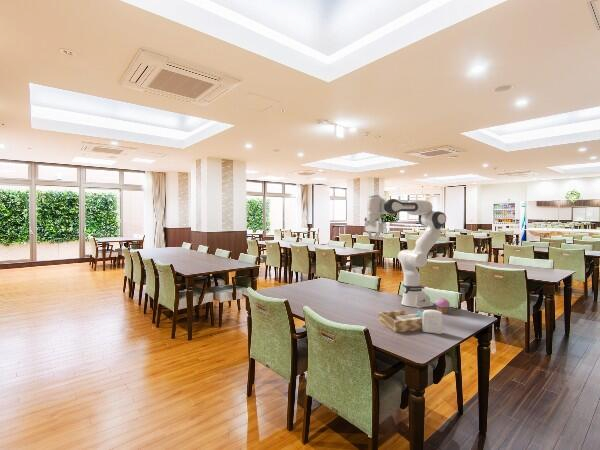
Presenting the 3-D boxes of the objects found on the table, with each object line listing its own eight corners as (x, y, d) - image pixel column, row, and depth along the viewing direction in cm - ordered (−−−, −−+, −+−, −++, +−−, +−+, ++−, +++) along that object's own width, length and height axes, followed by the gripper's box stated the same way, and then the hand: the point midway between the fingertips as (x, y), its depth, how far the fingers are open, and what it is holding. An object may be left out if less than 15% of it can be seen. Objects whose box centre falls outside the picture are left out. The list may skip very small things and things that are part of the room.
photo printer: (442, 332, 174) (442, 309, 174) (443, 334, 170) (443, 311, 170) (422, 329, 177) (422, 308, 177) (422, 332, 173) (422, 310, 173)
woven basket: (404, 319, 195) (404, 309, 195) (423, 329, 178) (423, 318, 178) (378, 322, 190) (378, 312, 190) (395, 332, 173) (395, 321, 173)
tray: (418, 317, 196) (418, 310, 195) (434, 324, 182) (434, 317, 182) (394, 319, 191) (394, 312, 191) (408, 327, 177) (408, 319, 177)
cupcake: (444, 311, 214) (444, 296, 213) (452, 314, 205) (452, 299, 205) (432, 311, 212) (432, 296, 212) (440, 315, 204) (440, 300, 203)
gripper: (386, 218, 209) (385, 239, 209) (370, 218, 229) (370, 237, 229) (377, 218, 207) (377, 239, 207) (363, 218, 227) (362, 237, 227)
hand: (373, 238), depth 218 cm, fingers open, 8 cm apart
